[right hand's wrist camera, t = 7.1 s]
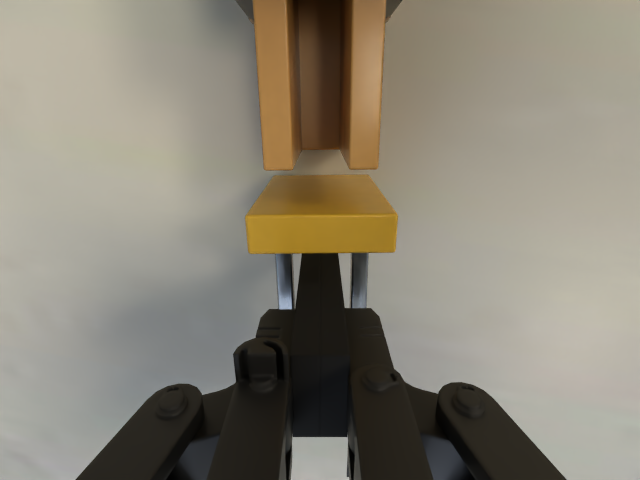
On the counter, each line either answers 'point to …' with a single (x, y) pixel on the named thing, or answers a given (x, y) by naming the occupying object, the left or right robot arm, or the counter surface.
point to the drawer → (320, 135)
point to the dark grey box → (247, 6)
